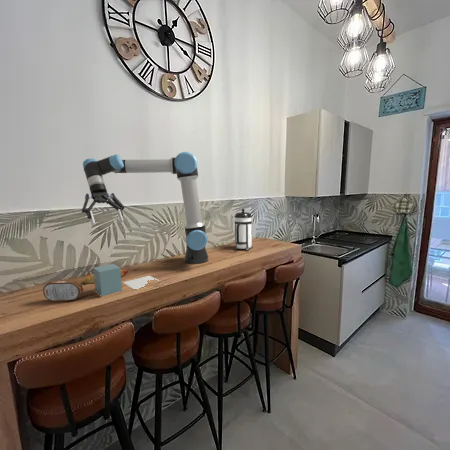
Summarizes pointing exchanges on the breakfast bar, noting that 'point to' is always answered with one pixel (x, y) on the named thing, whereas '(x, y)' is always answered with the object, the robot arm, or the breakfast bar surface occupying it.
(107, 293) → the grey-blue rectangular block
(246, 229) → the coffee press
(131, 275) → the breakfast bar surface
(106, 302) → the breakfast bar surface
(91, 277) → the croissant
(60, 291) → the tin
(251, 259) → the breakfast bar surface
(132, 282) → the mat
